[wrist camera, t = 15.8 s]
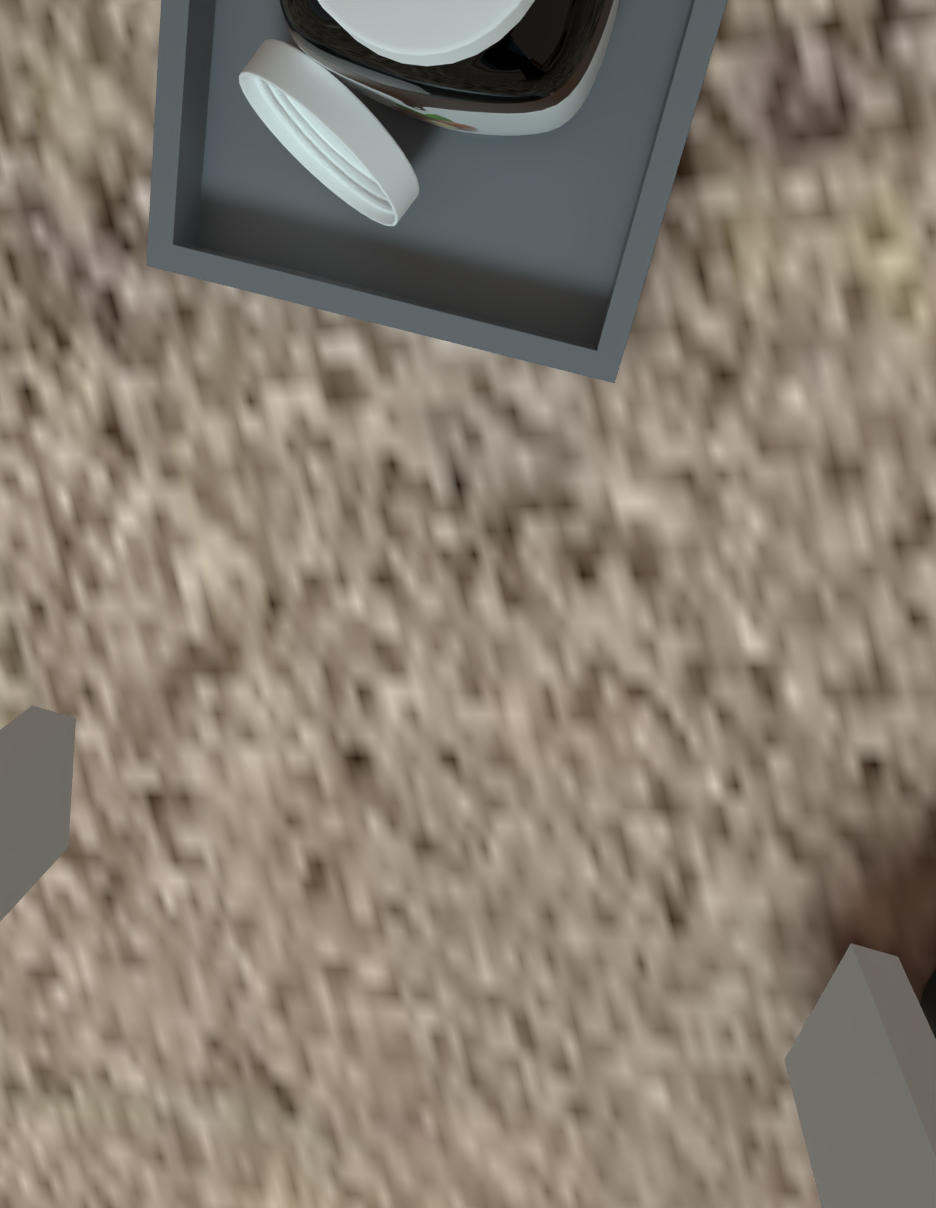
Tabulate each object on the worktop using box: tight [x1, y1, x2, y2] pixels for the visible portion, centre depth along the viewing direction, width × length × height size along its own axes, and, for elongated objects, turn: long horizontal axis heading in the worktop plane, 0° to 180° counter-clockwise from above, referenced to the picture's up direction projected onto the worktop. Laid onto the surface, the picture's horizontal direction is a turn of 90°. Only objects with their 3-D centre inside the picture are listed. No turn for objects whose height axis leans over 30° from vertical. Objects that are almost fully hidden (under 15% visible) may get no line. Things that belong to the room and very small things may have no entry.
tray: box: [147, 0, 727, 383], centre depth 30 cm, size 19×19×3 cm
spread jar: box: [239, 0, 619, 226], centre depth 25 cm, size 12×11×12 cm
